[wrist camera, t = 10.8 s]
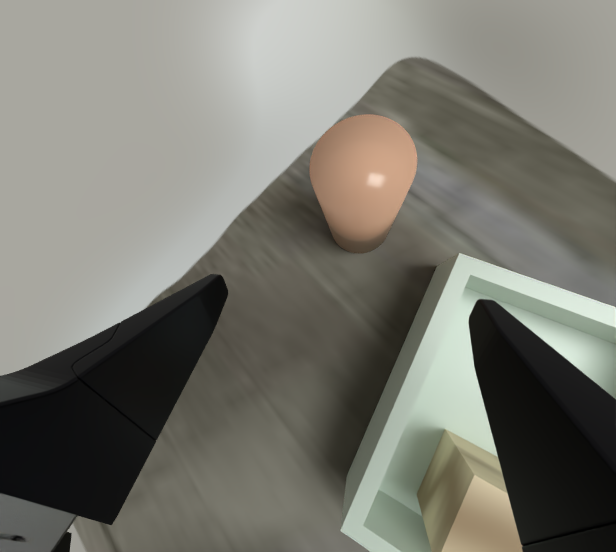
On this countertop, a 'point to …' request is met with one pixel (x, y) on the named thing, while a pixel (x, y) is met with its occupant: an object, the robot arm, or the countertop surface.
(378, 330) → the countertop surface
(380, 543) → the tote
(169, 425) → the countertop surface
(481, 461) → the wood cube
